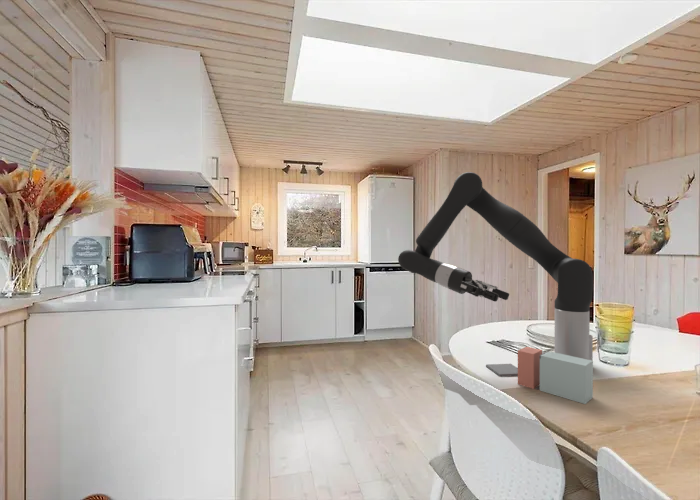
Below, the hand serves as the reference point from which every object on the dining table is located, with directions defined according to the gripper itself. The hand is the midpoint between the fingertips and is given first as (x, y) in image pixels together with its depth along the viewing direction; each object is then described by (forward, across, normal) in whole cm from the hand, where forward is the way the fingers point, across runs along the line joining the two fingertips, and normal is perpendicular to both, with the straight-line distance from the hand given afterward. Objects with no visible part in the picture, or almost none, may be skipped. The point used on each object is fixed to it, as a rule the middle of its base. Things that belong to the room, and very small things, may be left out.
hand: (503, 297), depth 98 cm
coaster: (+6, +4, +21) cm, 22 cm away
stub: (+14, -1, +19) cm, 23 cm away
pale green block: (+22, -2, +17) cm, 28 cm away
